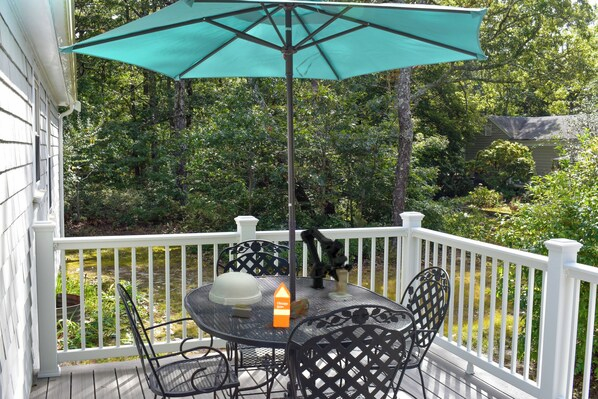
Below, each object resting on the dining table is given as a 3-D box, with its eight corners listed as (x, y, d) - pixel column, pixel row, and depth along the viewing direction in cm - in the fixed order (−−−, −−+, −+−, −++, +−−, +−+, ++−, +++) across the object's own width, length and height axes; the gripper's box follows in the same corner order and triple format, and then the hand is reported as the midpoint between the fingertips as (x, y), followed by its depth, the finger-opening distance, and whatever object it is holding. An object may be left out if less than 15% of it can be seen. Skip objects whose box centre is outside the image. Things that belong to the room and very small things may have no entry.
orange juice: (289, 321, 281) (290, 281, 279) (289, 327, 272) (290, 286, 270) (273, 320, 281) (274, 281, 279) (273, 326, 272) (274, 286, 270)
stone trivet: (328, 298, 328) (328, 293, 328) (342, 296, 333) (343, 291, 332) (337, 302, 319) (337, 297, 319) (352, 300, 324) (352, 295, 324)
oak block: (334, 291, 327) (335, 269, 325) (341, 290, 329) (343, 268, 328) (338, 293, 322) (340, 271, 321) (346, 293, 324) (347, 270, 323)
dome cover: (249, 308, 300) (250, 283, 299) (198, 302, 308) (199, 277, 307) (269, 294, 331) (270, 270, 329) (222, 288, 339) (223, 265, 337)
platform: (229, 311, 294) (229, 299, 293) (262, 315, 290) (262, 303, 289) (221, 318, 282) (221, 305, 281) (255, 322, 278) (255, 309, 278)
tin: (291, 320, 283) (292, 303, 282) (286, 318, 285) (287, 302, 284) (309, 313, 295) (310, 297, 294) (304, 312, 297) (305, 296, 296)
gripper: (325, 251, 322) (334, 275, 314) (352, 250, 331) (362, 272, 322) (317, 262, 330) (326, 285, 321) (344, 260, 339) (353, 282, 330)
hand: (342, 281), depth 324 cm, fingers closed on oak block, 5 cm apart
